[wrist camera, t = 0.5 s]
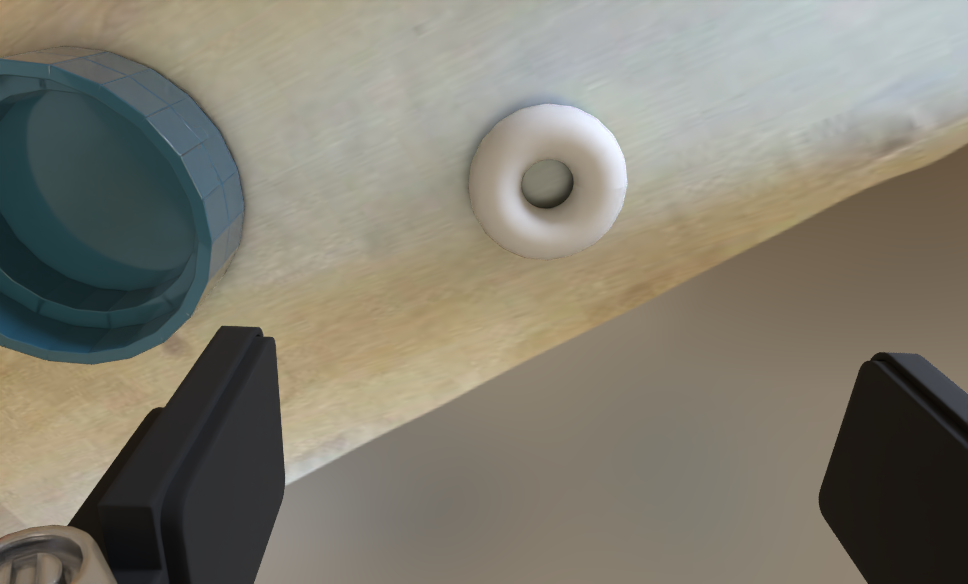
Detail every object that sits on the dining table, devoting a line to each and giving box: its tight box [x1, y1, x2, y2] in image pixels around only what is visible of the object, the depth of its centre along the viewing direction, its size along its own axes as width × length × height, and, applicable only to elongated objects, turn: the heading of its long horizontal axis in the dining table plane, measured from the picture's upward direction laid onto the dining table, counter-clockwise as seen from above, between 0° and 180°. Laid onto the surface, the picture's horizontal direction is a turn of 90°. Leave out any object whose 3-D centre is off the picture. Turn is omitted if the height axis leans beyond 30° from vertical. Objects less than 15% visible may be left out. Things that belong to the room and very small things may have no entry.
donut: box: [468, 103, 627, 260], centre depth 44 cm, size 10×3×10 cm
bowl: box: [0, 46, 244, 365], centre depth 42 cm, size 18×18×7 cm
